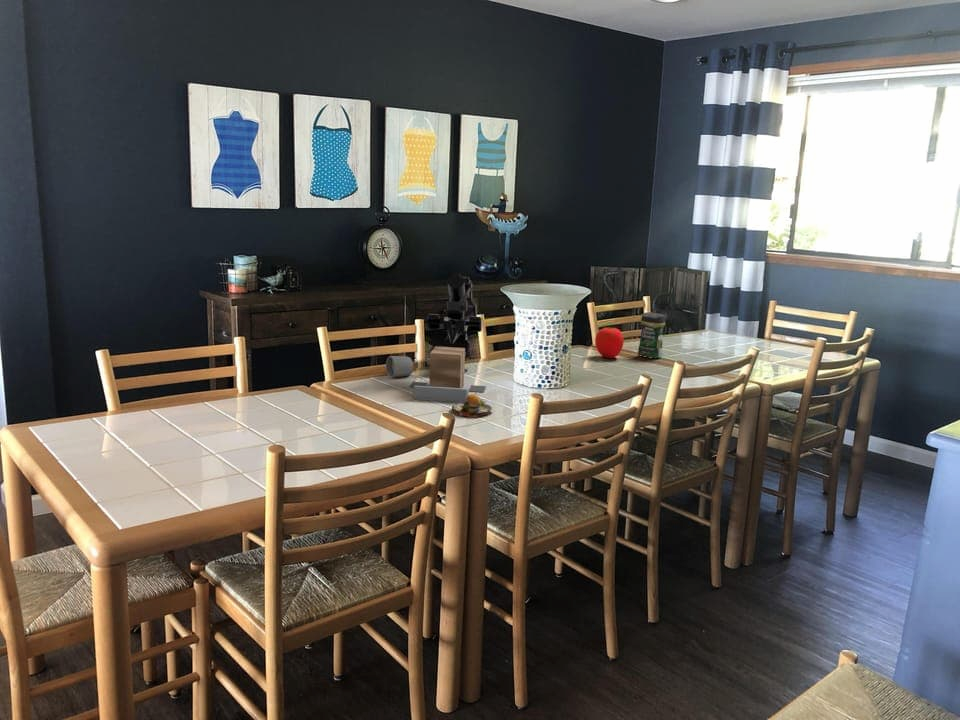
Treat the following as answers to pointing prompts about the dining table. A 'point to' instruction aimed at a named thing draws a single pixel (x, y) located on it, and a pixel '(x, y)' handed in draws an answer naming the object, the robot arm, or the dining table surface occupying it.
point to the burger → (472, 407)
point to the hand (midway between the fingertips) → (451, 342)
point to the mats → (472, 389)
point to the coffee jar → (651, 335)
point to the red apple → (609, 342)
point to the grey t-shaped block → (440, 393)
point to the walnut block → (447, 367)
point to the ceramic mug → (399, 366)
